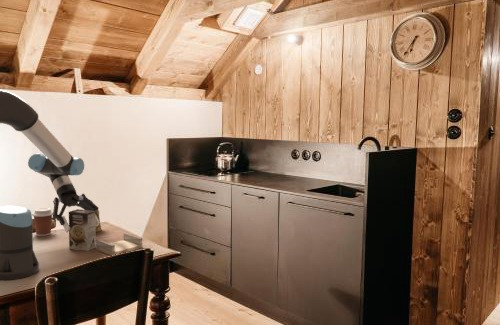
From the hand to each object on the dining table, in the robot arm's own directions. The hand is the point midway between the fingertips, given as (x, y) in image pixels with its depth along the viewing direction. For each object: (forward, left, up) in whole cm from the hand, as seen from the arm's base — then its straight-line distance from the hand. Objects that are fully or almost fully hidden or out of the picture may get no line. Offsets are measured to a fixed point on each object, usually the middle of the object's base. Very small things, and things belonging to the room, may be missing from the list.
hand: (83, 227), depth 182 cm
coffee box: (-1, 0, -9) cm, 9 cm away
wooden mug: (+15, +21, -9) cm, 27 cm away
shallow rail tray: (+9, -12, -9) cm, 18 cm away
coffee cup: (-2, +33, -9) cm, 34 cm away
